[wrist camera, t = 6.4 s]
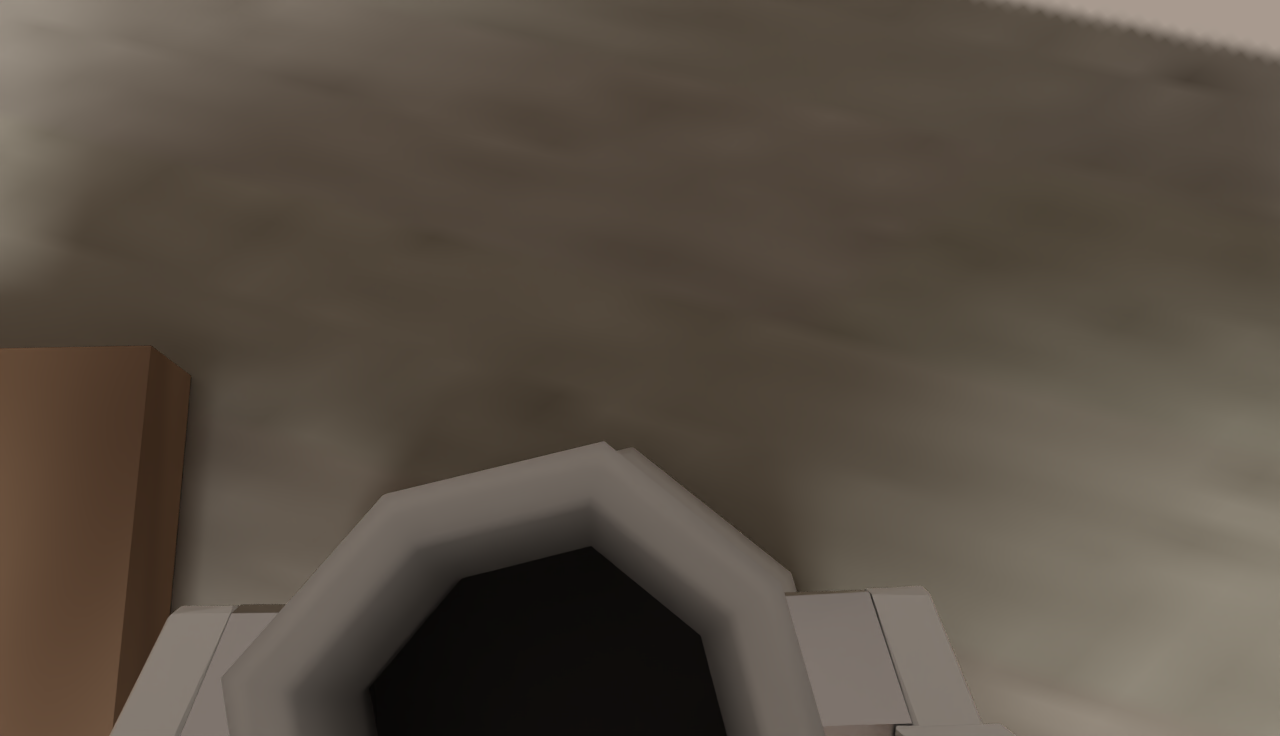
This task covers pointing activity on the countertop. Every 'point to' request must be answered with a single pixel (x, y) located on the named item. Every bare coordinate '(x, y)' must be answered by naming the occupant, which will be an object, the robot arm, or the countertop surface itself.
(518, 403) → the countertop surface
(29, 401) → the walnut board
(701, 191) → the countertop surface
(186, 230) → the countertop surface
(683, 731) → the flask
